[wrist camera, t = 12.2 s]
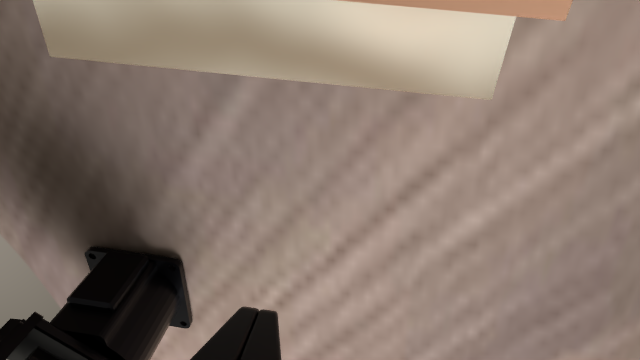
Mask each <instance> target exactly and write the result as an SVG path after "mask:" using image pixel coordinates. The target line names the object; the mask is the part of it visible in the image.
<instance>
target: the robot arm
mask: <svg viewBox="0 0 640 360" xmlns="http://www.w3.org/2000/svg"><path fill="white" fill-rule="evenodd" d="M85 256H86V259H87V262H88V265H89V268H90V273H89V274H88V275H87V276H86V277H85V278H84V279H83V281H82V282H81V283H80V284H79V285H78V286H77V288H76V289H75V290H74V291H73V292H72V293H71V294H70V296H69V297H68V298H67V303H66V304H65V306H64V307H63V308H62V309H61V310H60V311H59V313H58V314H57V315H56V316H55V317H54V318H53V320H52V321H51V322H50V323H49V322H48V321H46V320H44V319H43V316H41V315H40V314H38V313H36V312H34V313H33V314H32V315H31V316H30V317H29V318H28V319H27V320H24V319H23V320H20V319H10V320H9V321H8V322H7V323H6V324H5V325H4V326H3V327H2V328H1V329H0V360H6V359H9V360H150V359H151V357H152V355H153V353H154V352H155V350H156V348H157V346H158V344H159V343H160V341H161V339H162V337H163V335H164V334H165V332H166V330H167V328H168V326H174V327H180V328H189V327H190V325H191V323H192V315H191V309H190V304H189V298H188V293H187V287H186V282H185V276H184V271H183V265H182V263H181V262H180V260H178V259H175V258H170V257H163V256H156V255H149V254H142V253H135V252H128V251H121V250H114V249H107V248H100V247H90V248H89V249H88V250H87V251H86V252H85ZM190 360H281V350H280V338H279V326H278V315H277V312H276V311H270V310H264V309H263V310H260V311H259V310H258V309H257V308H251V307H241V308H240V309H239V310H238V311H237V312H236V313H235V314H234V315H233V316H232V317H231V318H230V319H229V320H228V321H227V322H226V323H225V324H224V325H223V326H222V327H221V328H220V329H219V330H218V332H217V333H216V334H215V335H214V336H213V337H212V338H211V339H210V340H209V341H208V342H207V343H206V344H205V345H204V346H203V347H202V348H201V349H200V350H199V351H198V352H197V353H196V354H195V355H194V356H193V357H192V358H191V359H190Z"/></svg>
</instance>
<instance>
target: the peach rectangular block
mask: <svg viewBox="0 0 640 360" xmlns="http://www.w3.org/2000/svg"><path fill="white" fill-rule="evenodd" d="M338 1H349V2H360V3H371V4H383V5H394V6H405V7H416V8H427V9H438V10H449V11H460V12H472V13H483V14H494V15H505V16H516V17H527V18H538V19H550V20H561V21H565V20H566V17H567V15H568V12H569V9H570V7H571V4H572V1H573V0H338Z"/></svg>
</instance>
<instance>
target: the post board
mask: <svg viewBox="0 0 640 360" xmlns="http://www.w3.org/2000/svg"><path fill="white" fill-rule="evenodd" d="M33 3H34V6H35V9H36V13H37V16H38V19H39V22H40V26H41V29H42V32H43V35H44V39H45V42H46V45H47V48H48V52H49V55H50V57H59V58H69V59H79V60H89V61H99V62H109V63H120V64H130V65H140V66H150V67H160V68H171V69H181V70H191V71H201V72H211V73H222V74H232V75H242V76H252V77H262V78H272V79H283V80H293V81H303V82H313V83H323V84H334V85H344V86H354V87H364V88H374V89H384V90H395V91H405V92H415V93H425V94H435V95H446V96H456V97H466V98H476V99H486V100H492V96H493V93H494V89H495V86H496V83H497V79H498V76H499V73H500V69H501V66H502V63H503V59H504V56H505V52H506V49H507V46H508V42H509V39H510V36H511V32H512V29H513V26H514V22H515V19H516V16H505V15H494V14H483V13H472V12H460V11H449V10H438V9H427V8H416V7H405V6H394V5H383V4H371V3H360V2H349V1H338V0H33Z"/></svg>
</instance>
